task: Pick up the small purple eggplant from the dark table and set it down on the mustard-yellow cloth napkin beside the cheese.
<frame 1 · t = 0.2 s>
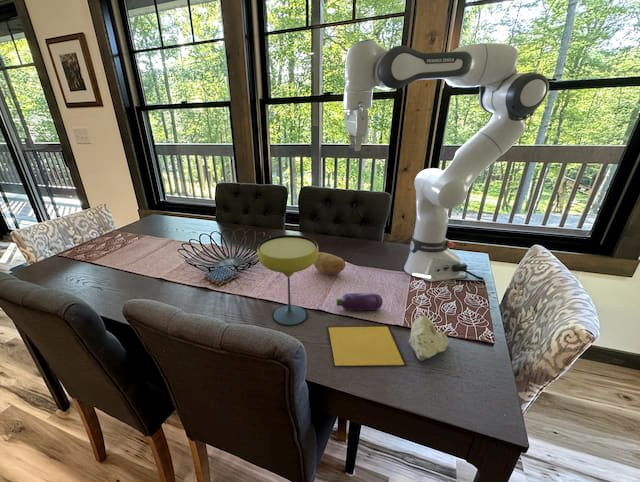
hand: (354, 149, 105), 48 cm above the table, tool pointing down, fingers open, 8 cm apart
potato: (328, 273, 128), on the table
cocktail glass: (289, 315, 103), on the table
eggplant: (361, 308, 105), on the table
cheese: (426, 357, 84), on the table
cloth: (363, 345, 89), on the table
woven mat: (221, 278, 128), on the table
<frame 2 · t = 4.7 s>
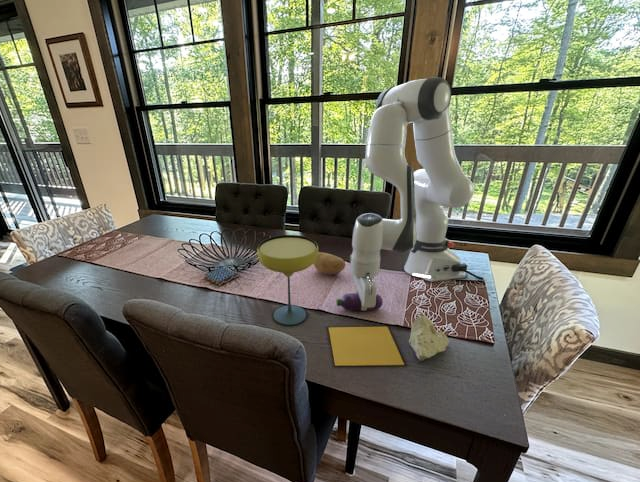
hand: (361, 303, 104), 2 cm above the table, tool pointing down, fingers closed on eggplant, 5 cm apart
eggplant: (361, 308, 105), on the table, touching gripper
everything else where it was.
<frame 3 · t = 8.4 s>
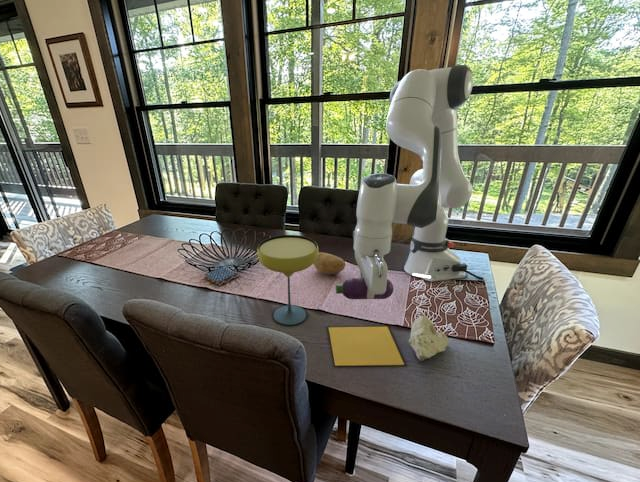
hand: (366, 290, 83), 17 cm above the table, tool pointing down, fingers closed on eggplant, 5 cm apart
eggplant: (366, 297, 84), point 14 cm above the table, touching gripper
everything else where it was.
when the fingers open (2 cm above the table, at t = 12.2 s): eggplant stays where it is, resting on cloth.
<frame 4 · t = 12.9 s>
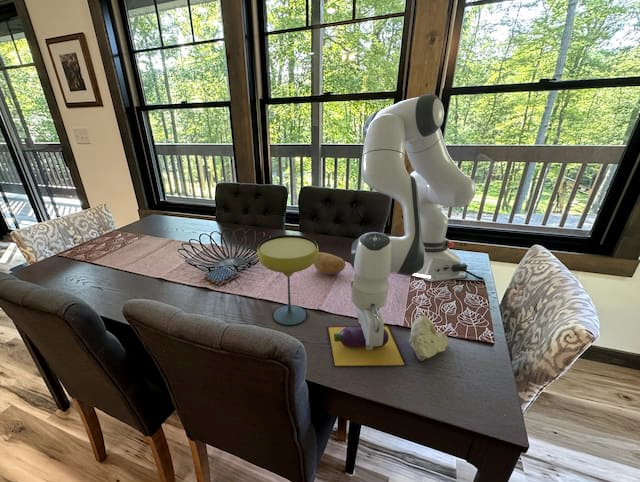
hand: (364, 336, 88), 3 cm above the table, tool pointing down, fingers open, 8 cm apart
eggplant: (362, 344, 89), resting on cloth
everything else where it was.
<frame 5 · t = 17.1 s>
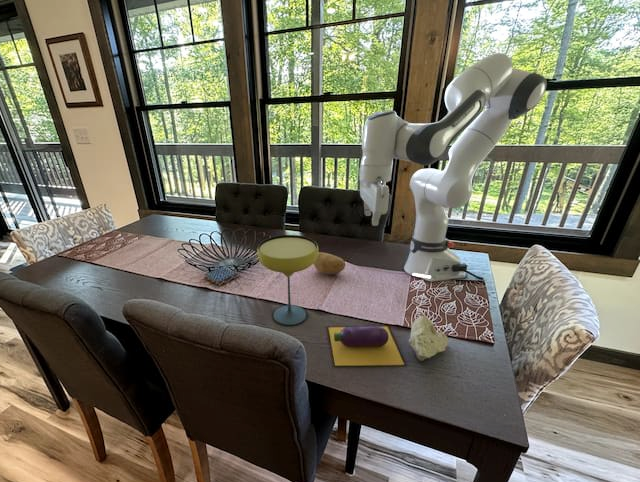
hand: (370, 219, 96), 29 cm above the table, tool pointing down, fingers open, 8 cm apart
nothing on the table moved.
at the end: eggplant inside the target area on the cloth (0.1 cm from its centre), point 0.2 cm above the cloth's base; the gripper is holding nothing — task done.
